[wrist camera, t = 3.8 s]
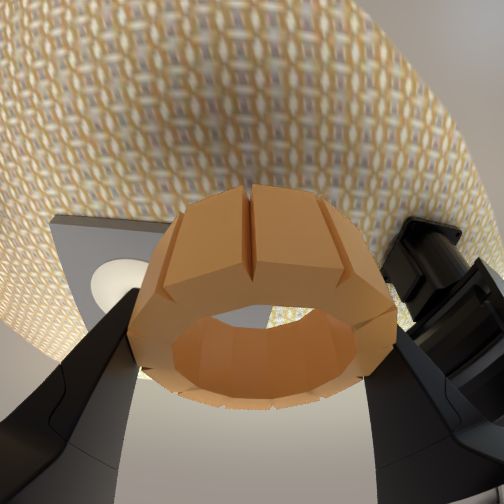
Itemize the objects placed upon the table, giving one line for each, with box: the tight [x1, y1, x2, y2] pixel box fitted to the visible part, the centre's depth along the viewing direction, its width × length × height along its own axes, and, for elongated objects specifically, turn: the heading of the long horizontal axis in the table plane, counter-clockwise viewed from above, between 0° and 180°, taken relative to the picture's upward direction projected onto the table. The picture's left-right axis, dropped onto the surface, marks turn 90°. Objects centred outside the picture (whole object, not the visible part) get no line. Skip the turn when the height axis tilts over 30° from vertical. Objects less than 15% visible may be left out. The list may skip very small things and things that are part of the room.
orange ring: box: [127, 184, 397, 410], centre depth 8 cm, size 7×7×3 cm
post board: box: [49, 215, 272, 332], centre depth 22 cm, size 18×14×6 cm
